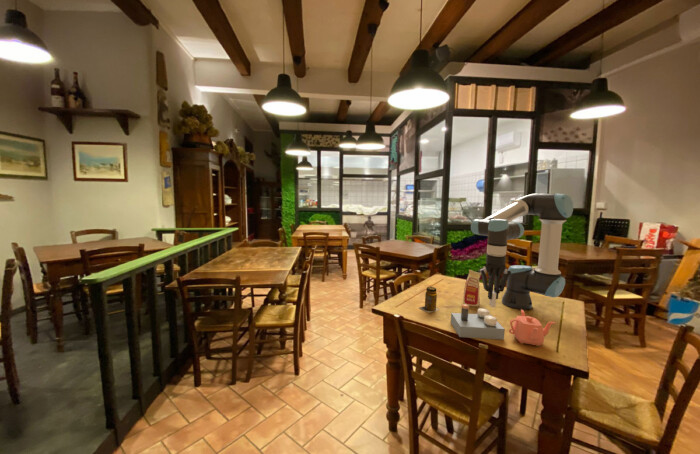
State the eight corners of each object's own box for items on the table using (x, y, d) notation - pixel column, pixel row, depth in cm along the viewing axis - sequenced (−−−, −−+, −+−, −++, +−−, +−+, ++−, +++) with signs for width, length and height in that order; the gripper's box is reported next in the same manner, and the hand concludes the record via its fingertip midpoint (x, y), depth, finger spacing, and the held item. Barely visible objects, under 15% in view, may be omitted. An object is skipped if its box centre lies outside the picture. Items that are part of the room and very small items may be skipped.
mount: (490, 324, 134) (490, 314, 133) (503, 339, 120) (504, 328, 119) (450, 322, 135) (451, 312, 134) (459, 337, 121) (460, 326, 121)
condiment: (439, 309, 150) (440, 288, 148) (429, 313, 145) (430, 291, 144) (428, 305, 156) (430, 285, 154) (418, 308, 151) (419, 287, 150)
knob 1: (485, 323, 133) (486, 308, 132) (489, 328, 128) (491, 313, 127) (474, 322, 134) (476, 308, 133) (478, 327, 129) (480, 312, 128)
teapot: (519, 329, 129) (521, 307, 128) (553, 344, 117) (556, 320, 115) (500, 336, 122) (503, 313, 121) (534, 353, 110) (537, 327, 108)
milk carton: (463, 304, 158) (465, 271, 155) (463, 299, 166) (465, 267, 164) (480, 307, 154) (483, 273, 152) (479, 301, 163) (482, 269, 160)
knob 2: (492, 331, 125) (493, 315, 124) (497, 337, 120) (498, 320, 119) (481, 330, 126) (482, 315, 125) (485, 336, 121) (487, 320, 120)
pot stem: (466, 318, 129) (467, 304, 128) (469, 321, 125) (470, 307, 124) (459, 317, 129) (460, 303, 128) (461, 321, 126) (462, 306, 125)
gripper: (507, 252, 122) (503, 303, 125) (477, 252, 123) (474, 302, 126) (516, 256, 114) (511, 310, 117) (484, 256, 115) (480, 308, 118)
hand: (492, 305), depth 122 cm, fingers closed
